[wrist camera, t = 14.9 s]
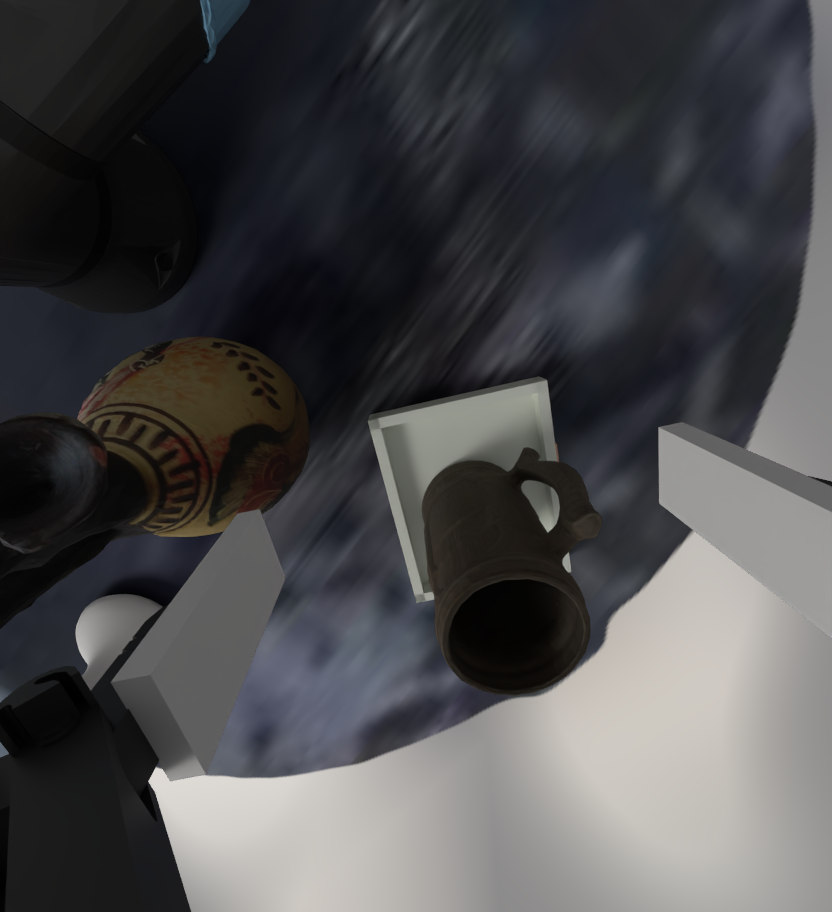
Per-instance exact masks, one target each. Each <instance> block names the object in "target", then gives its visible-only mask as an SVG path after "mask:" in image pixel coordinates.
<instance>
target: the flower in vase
mask: <svg viewBox="0 0 832 912" xmlns="http://www.w3.org/2000/svg"><path fill="white" fill-rule="evenodd" d="M161 608H162V606H161V605H159V604H158V603H156V602H154V601H152V600H150V599H148V598H145V597H142V596H138V595H132V594H117V595H109V596H105V597H102V598H99V599H97V600H95V601H94V602H92V603H91V604H89V605H88V606H87V607H86V608H85V609H84V611H83V612H82V614H81V616H80V618H79V621H78V623H77V626H76V640H77V644H78V648H79V651H80V653H81V655H82V657H83V658H84V660H85V661H86V663H87V664H88V667H87V670H86V671H85V673H84V674H83V676H82V678H83V679H84V681H85V682H86V684H87V686H88V687H89V689H90V690H92V688H93V687H94V686H95V685H96V683H97V682H98V681H99V679H100V678H101V677H102V676H103V674H104V673H105V672H106V671H107V669H108V668H109V667H110V665H111V664H112V663H113V662H114V660H115V659H116V658H117V657H118V655H119V654H122V650H123V649H124V648H125V646H126V645H127V644H128V643H129V641H131V640H133V638H132V637H133V636H134V635H135V634H136V632H137V631H138V630H139V629H140V627H141V626H142V625H143V624H144V622H145V621H146V620H147V619H149V618H150V617H151V616H152V615H153V614H155V613H156V612H157V611H158V610H159V609H161Z"/></svg>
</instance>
